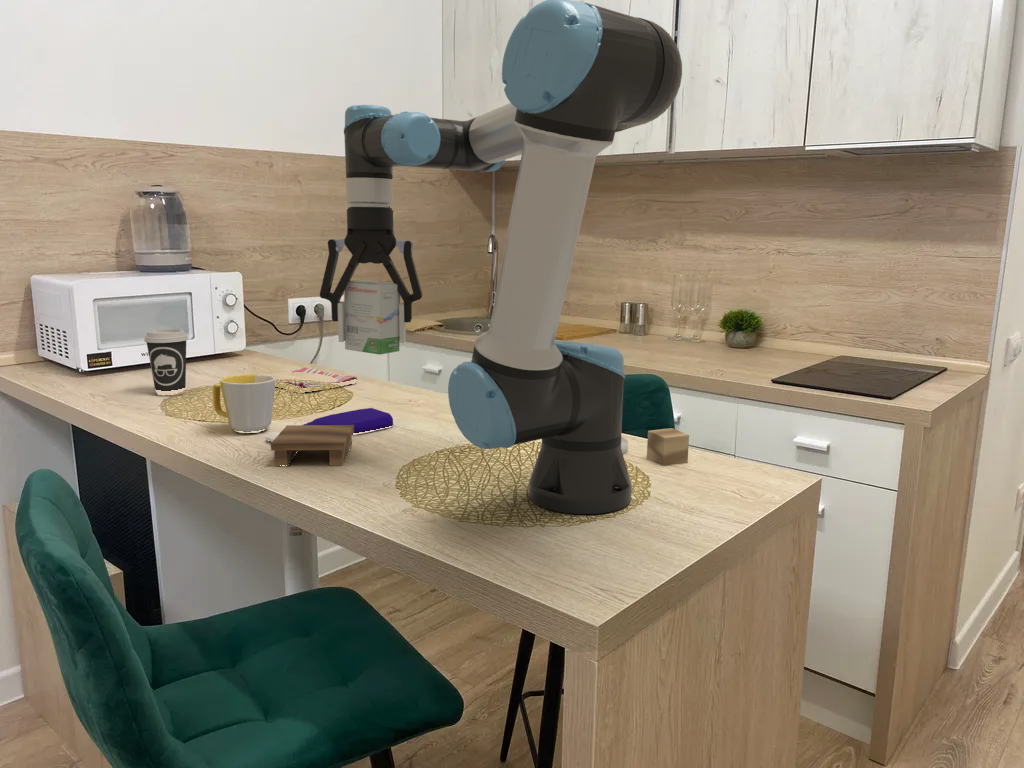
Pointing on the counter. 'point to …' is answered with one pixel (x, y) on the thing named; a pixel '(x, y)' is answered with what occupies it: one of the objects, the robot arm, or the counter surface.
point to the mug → (246, 401)
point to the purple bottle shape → (351, 420)
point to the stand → (313, 442)
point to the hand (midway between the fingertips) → (372, 341)
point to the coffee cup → (167, 358)
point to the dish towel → (315, 371)
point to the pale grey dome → (624, 445)
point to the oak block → (667, 446)
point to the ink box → (372, 316)
